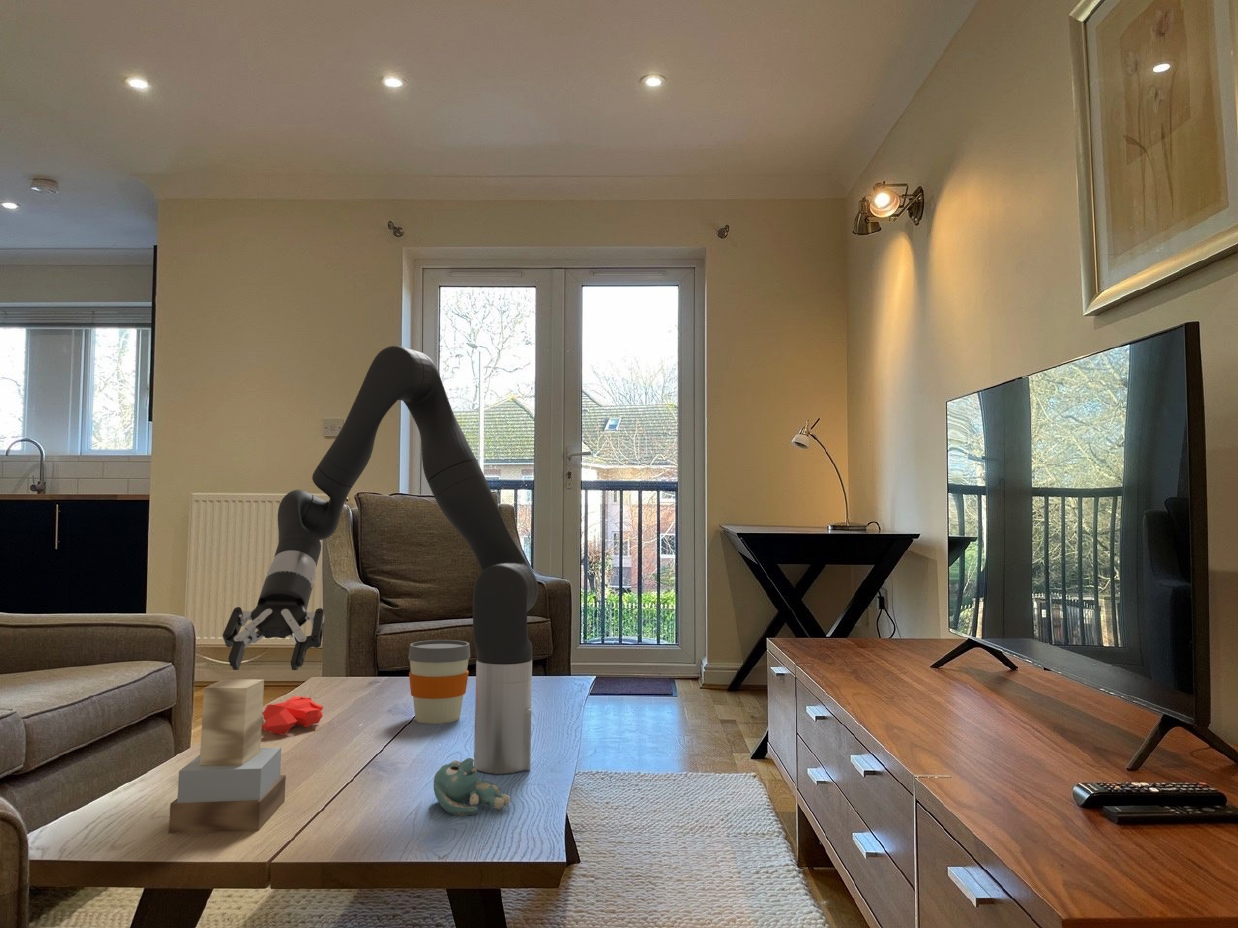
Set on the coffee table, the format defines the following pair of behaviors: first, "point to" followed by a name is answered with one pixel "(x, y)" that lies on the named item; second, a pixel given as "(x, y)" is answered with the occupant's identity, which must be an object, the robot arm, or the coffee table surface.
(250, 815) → the tower base
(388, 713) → the coffee table surface
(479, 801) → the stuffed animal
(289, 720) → the animal figurine
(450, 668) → the reusable coffee cup
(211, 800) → the tower top
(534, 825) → the coffee table surface
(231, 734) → the oak block
